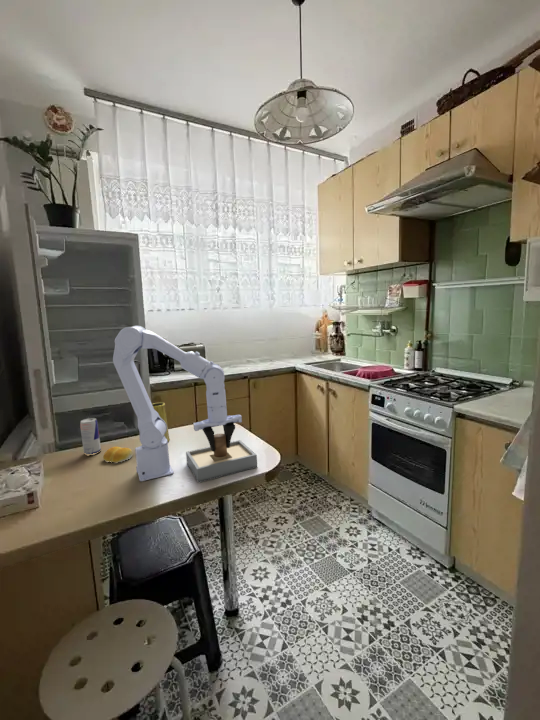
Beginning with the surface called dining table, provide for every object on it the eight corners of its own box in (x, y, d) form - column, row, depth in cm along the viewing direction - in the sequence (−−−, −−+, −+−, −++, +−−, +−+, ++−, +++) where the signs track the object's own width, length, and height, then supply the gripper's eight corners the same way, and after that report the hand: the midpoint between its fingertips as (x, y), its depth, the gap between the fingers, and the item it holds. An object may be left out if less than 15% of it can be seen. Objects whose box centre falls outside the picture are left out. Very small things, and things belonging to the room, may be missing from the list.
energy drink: (104, 450, 127) (100, 417, 125) (95, 456, 122) (91, 422, 120) (90, 450, 128) (85, 417, 126) (80, 456, 122) (76, 422, 121)
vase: (152, 439, 135) (148, 403, 133) (169, 437, 136) (165, 401, 134) (152, 445, 129) (148, 407, 127) (170, 442, 131) (166, 405, 128)
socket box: (198, 482, 99) (197, 469, 99) (187, 463, 112) (185, 451, 111) (257, 467, 107) (256, 454, 106) (240, 451, 120) (239, 440, 119)
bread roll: (122, 465, 114) (121, 453, 114) (99, 463, 117) (97, 451, 116) (138, 454, 122) (137, 443, 121) (116, 452, 124) (115, 442, 124)
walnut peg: (216, 458, 106) (214, 439, 106) (212, 453, 110) (210, 435, 109) (229, 455, 108) (227, 436, 107) (224, 451, 112) (223, 432, 111)
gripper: (196, 412, 100) (200, 458, 102) (244, 404, 106) (247, 447, 108) (190, 407, 106) (194, 450, 108) (236, 399, 112) (238, 440, 114)
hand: (220, 448), depth 109 cm, fingers closed on walnut peg, 4 cm apart
